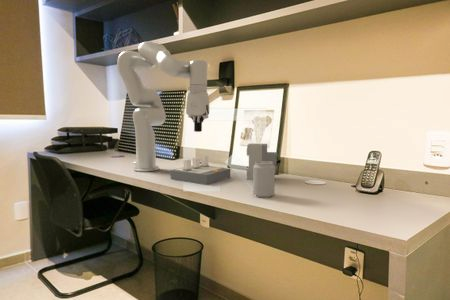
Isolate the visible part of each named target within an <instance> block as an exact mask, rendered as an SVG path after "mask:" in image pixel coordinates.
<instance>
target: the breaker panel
mask: <svg viewBox="0 0 450 300" xmlns="http://www.w3.org/2000/svg"><path fill="white" fill-rule="evenodd" d="M192 167H193V165H191V169H192V170H183V169H184V166H183V167H180V168H174V169H170V179H171V180H175V181H180V182H186V183H187V182H188V183H193V184H198V185H199V184H200V185H206V186H207V185H212V184H215V183H217V182H221V181H224V180H227V179H231V168H227V167H226V168H225V167H221V166H220V167H219V166H214V165H209V166H200V168H192Z"/></svg>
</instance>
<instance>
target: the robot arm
mask: <svg viewBox="0 0 450 300" xmlns="http://www.w3.org/2000/svg"><path fill="white" fill-rule="evenodd" d="M116 63H117V64H116V66H117V69H118V73H119V75H120V77H121V80H122V81H123V84H124V86H125V90H126V93H127V95H128V99H129V102H130V103H131V105H132V106H135V107H137V108H136V109H135V110H133V112H132V121H133V125H134V131H135V133H134V134H135V135H134V136H135V150H136V151H135V156H136V158H135V160H134V161H133V162H132V164H133V165H135V166H134V167H133V171H135V172H143V173H145V172H153V171H154V172H155V171H158V170H159V169H160V166H159V165H157V161H156V159H157V157H156V135H155V131H154V129H153V127H154V126H155V127H156V126H157V127H158V126H161V125H163V124H164V123H165V122H166V117H167V115H166V111H165V107H164V106H163V103H162V100H161V97H160V94H159V93H158V92H157V90H155V89H154V88H152V87H145V86H144V84H143V81H142V79H141V77H140V75H139V74H138V73H137V72H136V71H137V70H139V71H149V70H152V69H153V68H155V67H156V66H157V67H158V68H159V70H160V71H161V72H163V73H165V74H167V75H168V76H170V77H174V78H180V79H189V86H188V90H189V92H188V93H187V97H186V106H185V109H186V110H185V111H186V112H185V113H186V115H187V117H188V118H190V119H191V120H192V122H193V125H194V128H193V132H197V133H200V132H202V130H203V127H202V126H203V123H204V121H205V120H206V119H209V114H210V99H209V93H208V62H207V61H205V60H203V59H193V60H191V61H189V60H183V59H179V58H178V59H177V58H174V57H172V54H171V52H170V51H169V50H168V49H167V48H166V46H164V45H163V44H161V43H158V42H152V41H143V42H141V43H140V44H139V45H138V51H131V50H125V51H121V53H120V54H119V55H118V57H117V62H116ZM135 70H136V71H135Z"/></svg>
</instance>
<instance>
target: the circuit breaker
mask: <svg viewBox="0 0 450 300" xmlns="http://www.w3.org/2000/svg"><path fill="white" fill-rule="evenodd" d="M246 156H247V157H248V167H247V168H246V181H247V180H249V181H250V180H251V181H253V166H254V165H255V162H257V161H270V162H273V165H274V166H275V173H276V172H277V169H278V164H281V161H282V160H281V159H279V158H278V152H274V151H268V143H253V142H252V143H248V144H247V146H246Z"/></svg>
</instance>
